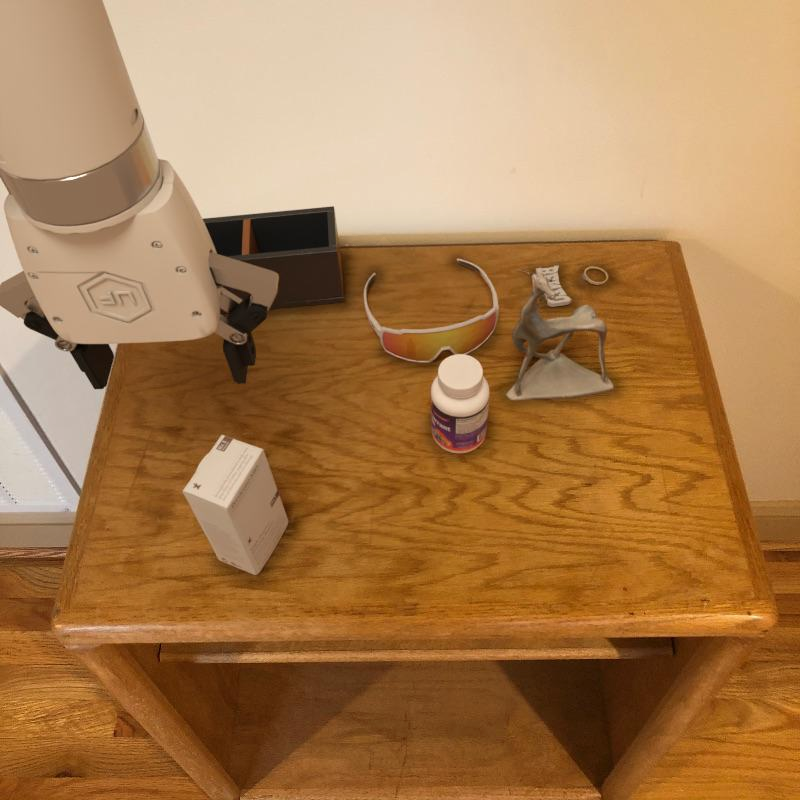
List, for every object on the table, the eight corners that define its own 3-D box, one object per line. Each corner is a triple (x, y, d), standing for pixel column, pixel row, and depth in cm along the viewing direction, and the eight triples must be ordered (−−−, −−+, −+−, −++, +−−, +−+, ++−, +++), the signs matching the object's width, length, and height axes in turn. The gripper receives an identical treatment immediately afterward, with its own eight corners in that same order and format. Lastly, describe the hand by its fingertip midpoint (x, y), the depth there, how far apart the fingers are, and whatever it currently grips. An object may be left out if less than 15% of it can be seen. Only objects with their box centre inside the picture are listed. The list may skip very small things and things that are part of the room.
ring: (613, 278, 87) (589, 282, 87) (610, 284, 88) (587, 289, 87) (602, 262, 89) (578, 266, 88) (600, 268, 90) (576, 272, 89)
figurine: (605, 347, 82) (632, 240, 70) (615, 397, 79) (646, 292, 66) (501, 351, 83) (510, 245, 71) (506, 400, 79) (517, 297, 67)
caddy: (173, 318, 88) (152, 268, 81) (178, 273, 92) (159, 222, 86) (344, 302, 88) (336, 250, 82) (341, 258, 92) (334, 205, 86)
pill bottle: (423, 420, 78) (420, 358, 70) (472, 403, 79) (475, 340, 71) (444, 463, 75) (444, 403, 67) (495, 444, 76) (501, 383, 68)
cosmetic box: (259, 578, 69) (228, 512, 59) (215, 560, 70) (178, 493, 60) (291, 519, 72) (268, 448, 62) (249, 503, 73) (219, 431, 63)
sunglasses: (379, 378, 81) (375, 342, 77) (358, 292, 92) (353, 256, 88) (512, 354, 82) (513, 317, 79) (475, 271, 93) (475, 236, 89)
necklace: (556, 265, 90) (514, 270, 89) (557, 261, 89) (515, 266, 89) (573, 307, 86) (529, 312, 85) (574, 303, 85) (529, 308, 85)
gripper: (-110, 220, 38) (37, 419, 52) (240, 204, 38) (294, 410, 52) (-58, 128, 43) (64, 334, 57) (255, 113, 42) (301, 325, 56)
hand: (174, 370), depth 54 cm, fingers open, 9 cm apart
